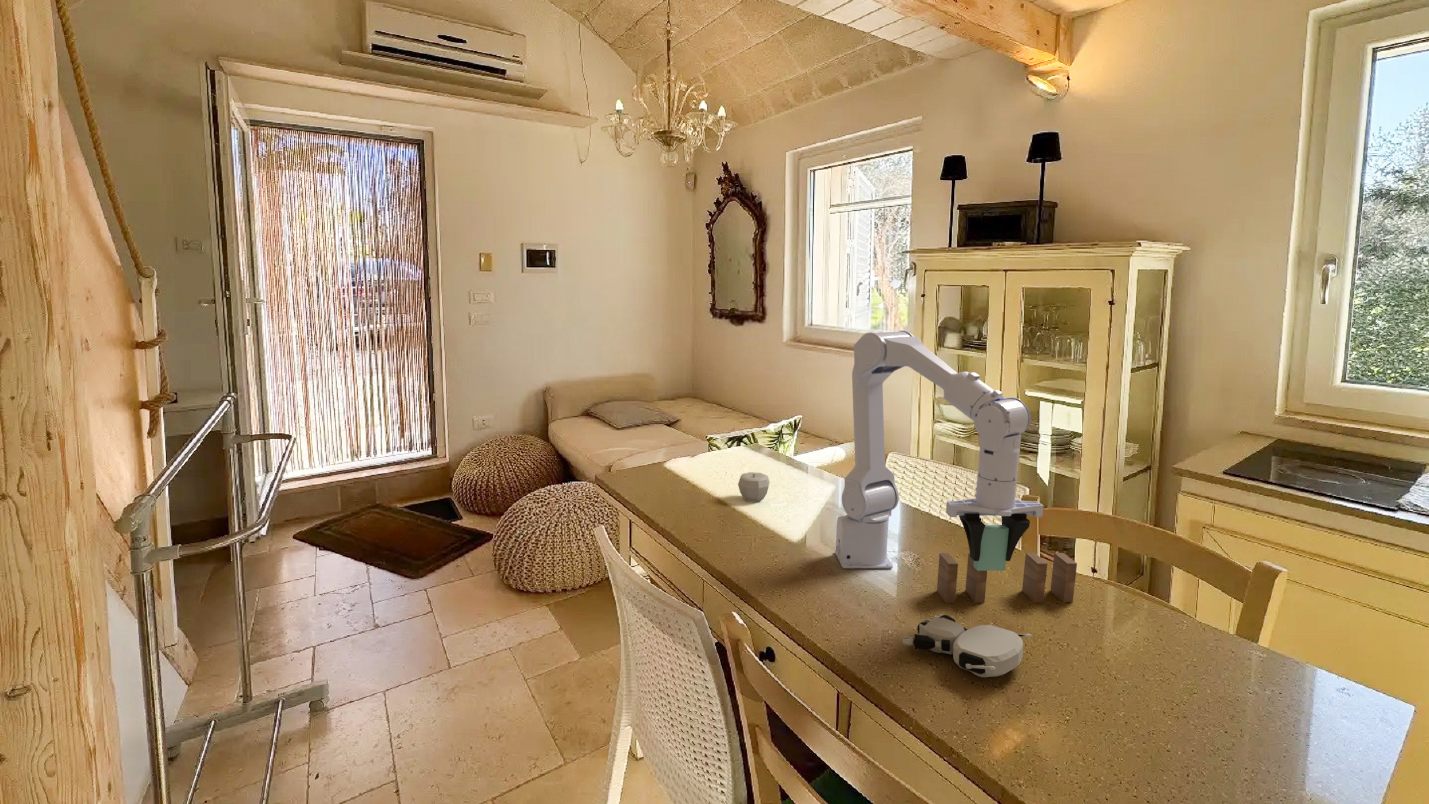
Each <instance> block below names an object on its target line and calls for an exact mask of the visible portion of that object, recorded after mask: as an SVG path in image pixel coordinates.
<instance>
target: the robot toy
mask: <svg viewBox="0 0 1429 804" xmlns="http://www.w3.org/2000/svg"><path fill="white" fill-rule="evenodd" d="M916 628H917V629H916V630H917V633H918V634H916V633H915V634H914V636H913V637H912V636H910V635H904V636H903V637H902V644H903V645H904V646H908V647H909V646H913V649H914V650H920V651H929V650H930V651H931V652H935V653H937V654H940V653H942V654H947V655H952V656H953V657H952V658H953V662H954V663H955V664H956V665H957V666H958V667H959V668H960V669H963V670H965V671H969V672H971V673H972V674H973V675H975V676H977V677H979V678H988V677H990V678H991V677H999V676H1002V675H1005V674H1007V673H1008V672H1010V671H1012V670H1013V669H1015V668H1017V667H1018V666H1020V663H1021V661H1022V660H1023V655H1024V653H1023V652H1024V641H1023V639H1022V637H1023V638H1024V637H1025V638H1031V637H1033V635H1032V634H1031V633H1016V632H1015V631H1014V630H1013V631H1012V630H1008V629H1005V628H1002V627H999V626H996V625H993V624H980V625H976V626H973V627H970V628H968V629H967V628H966V627H964V626H962V624H960V623H958V622H956V620H955V619H954V618H953V617H952V616H949V615H948V614H937V615H934V616H933V618H927V619H926V618H925V619H924V620H923V621H921V622H919V624H917V627H916Z"/></svg>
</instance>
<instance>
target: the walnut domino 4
mask: <svg viewBox="0 0 1429 804" xmlns="http://www.w3.org/2000/svg"><path fill="white" fill-rule="evenodd" d="M1053 553H1054V554H1053V564H1052V571H1051V582H1050V590H1051V591H1052V592H1053V595H1054V596H1056V597H1057V598H1058V599H1059V598H1060V599H1059V600H1060V601H1061V602H1062V601H1063V602H1070V603H1073V602H1074V594H1075V586H1076V584H1075V583H1076V577H1077V566H1078V563H1077V562H1076V561H1075V560H1073V559H1072V558H1071V557H1069V556H1068V555H1067V554H1066V553H1064V552H1053ZM1051 591H1050V592H1051ZM1052 592H1051V593H1052ZM1063 602H1062V603H1063Z"/></svg>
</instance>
